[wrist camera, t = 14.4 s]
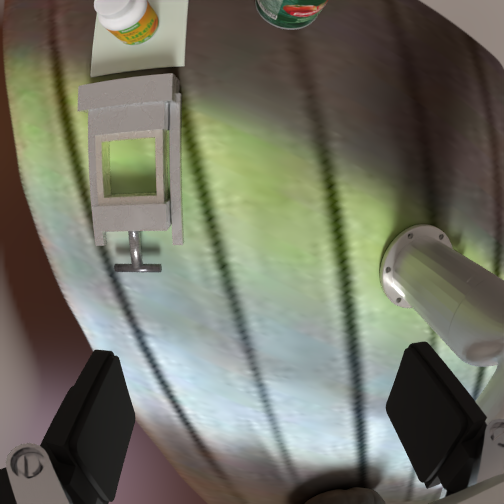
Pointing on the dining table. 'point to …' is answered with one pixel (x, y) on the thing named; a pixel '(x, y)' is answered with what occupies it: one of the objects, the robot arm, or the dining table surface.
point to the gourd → (348, 497)
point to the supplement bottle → (128, 20)
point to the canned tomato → (289, 12)
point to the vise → (128, 128)
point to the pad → (150, 53)
